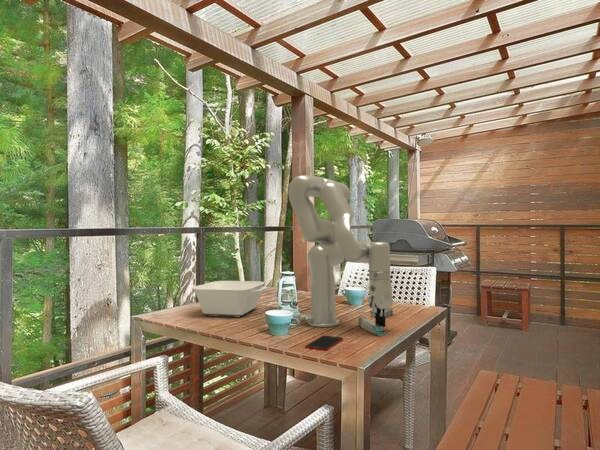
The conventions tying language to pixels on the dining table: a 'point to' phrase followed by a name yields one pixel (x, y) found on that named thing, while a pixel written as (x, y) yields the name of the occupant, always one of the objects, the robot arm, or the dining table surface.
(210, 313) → the tub
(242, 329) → the dining table surface
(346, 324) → the dining table surface
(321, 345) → the cell phone
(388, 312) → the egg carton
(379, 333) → the tongs lower
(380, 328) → the tongs upper arm
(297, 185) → the robot arm
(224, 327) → the dining table surface
